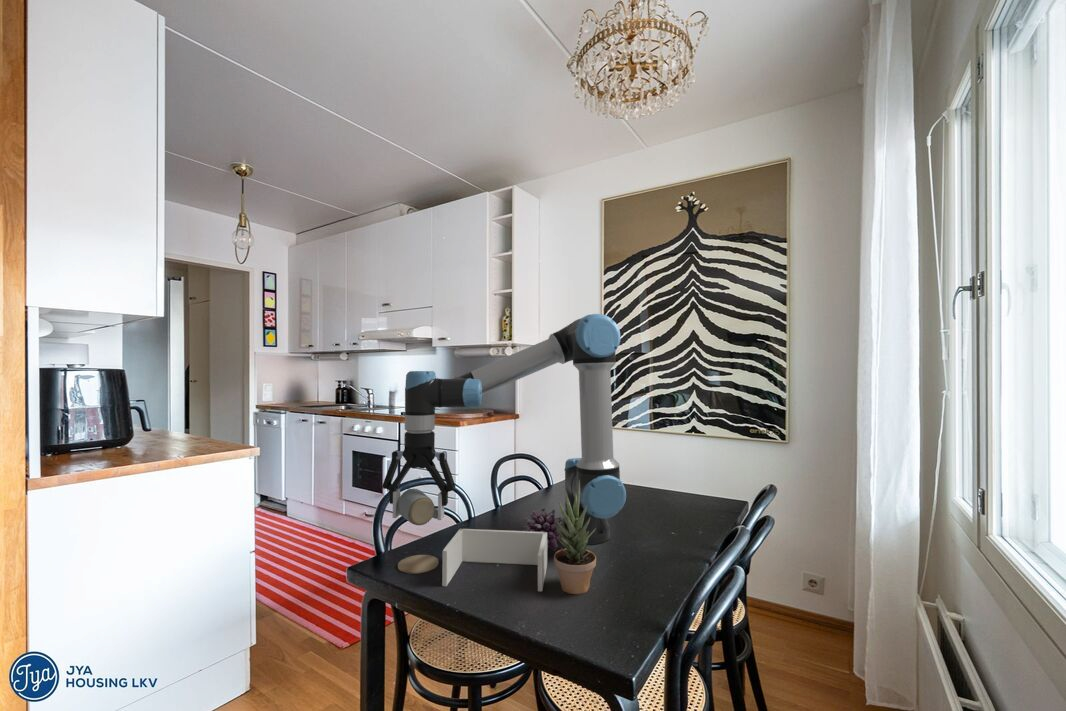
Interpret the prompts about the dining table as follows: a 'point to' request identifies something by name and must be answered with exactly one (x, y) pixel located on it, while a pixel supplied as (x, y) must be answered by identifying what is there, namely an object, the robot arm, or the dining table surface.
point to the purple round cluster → (545, 526)
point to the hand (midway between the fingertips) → (418, 517)
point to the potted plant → (574, 550)
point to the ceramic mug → (416, 507)
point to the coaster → (418, 564)
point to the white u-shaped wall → (495, 550)
